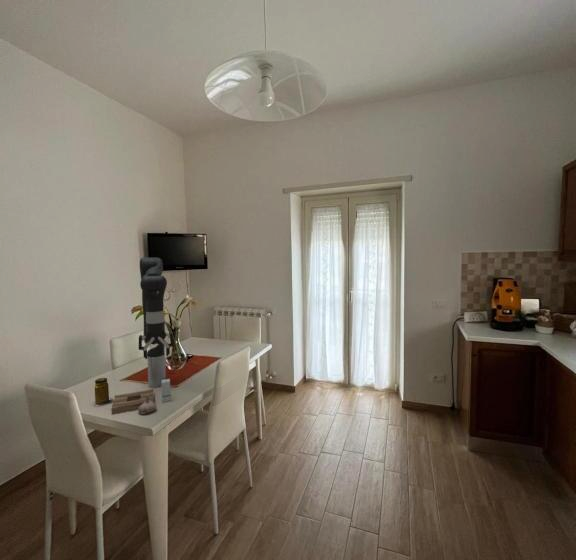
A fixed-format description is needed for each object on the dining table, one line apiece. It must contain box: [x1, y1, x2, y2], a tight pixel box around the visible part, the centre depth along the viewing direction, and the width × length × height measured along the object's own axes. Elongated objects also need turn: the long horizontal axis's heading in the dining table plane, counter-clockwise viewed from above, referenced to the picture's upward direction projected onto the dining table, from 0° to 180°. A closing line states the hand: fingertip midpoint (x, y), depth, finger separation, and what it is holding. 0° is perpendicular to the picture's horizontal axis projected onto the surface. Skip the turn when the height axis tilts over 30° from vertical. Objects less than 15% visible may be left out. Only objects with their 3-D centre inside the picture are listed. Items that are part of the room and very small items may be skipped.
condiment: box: [93, 377, 114, 408], centre depth 157 cm, size 7×8×12 cm
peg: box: [161, 378, 172, 403], centre depth 159 cm, size 4×4×10 cm
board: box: [111, 388, 155, 415], centre depth 155 cm, size 15×18×3 cm
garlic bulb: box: [137, 395, 157, 415], centre depth 146 cm, size 8×7×8 cm
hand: (156, 357), depth 137 cm, fingers open, 8 cm apart
